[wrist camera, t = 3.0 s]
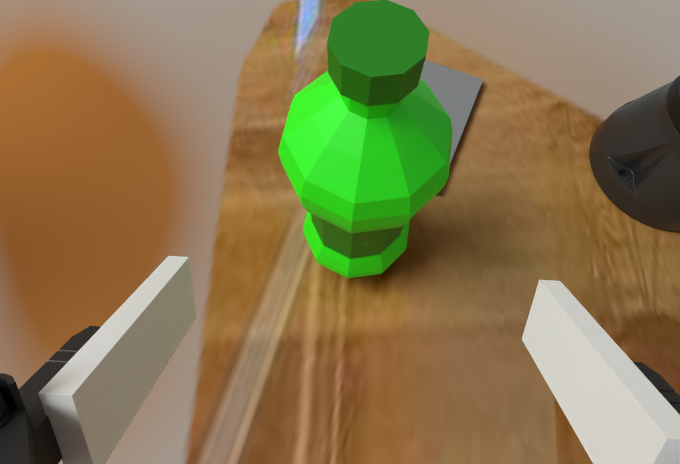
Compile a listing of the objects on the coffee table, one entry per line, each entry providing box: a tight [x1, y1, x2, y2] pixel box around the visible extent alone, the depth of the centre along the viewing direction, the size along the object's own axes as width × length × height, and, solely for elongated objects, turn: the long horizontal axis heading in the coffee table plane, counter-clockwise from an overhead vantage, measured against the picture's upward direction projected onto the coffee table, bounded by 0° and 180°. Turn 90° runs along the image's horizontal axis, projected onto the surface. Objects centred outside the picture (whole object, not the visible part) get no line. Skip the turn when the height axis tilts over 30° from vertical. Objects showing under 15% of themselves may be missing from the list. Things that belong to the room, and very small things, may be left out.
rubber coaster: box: [420, 60, 483, 195], centre depth 45 cm, size 16×16×1 cm
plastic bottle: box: [278, 0, 453, 278], centre depth 28 cm, size 10×10×25 cm
